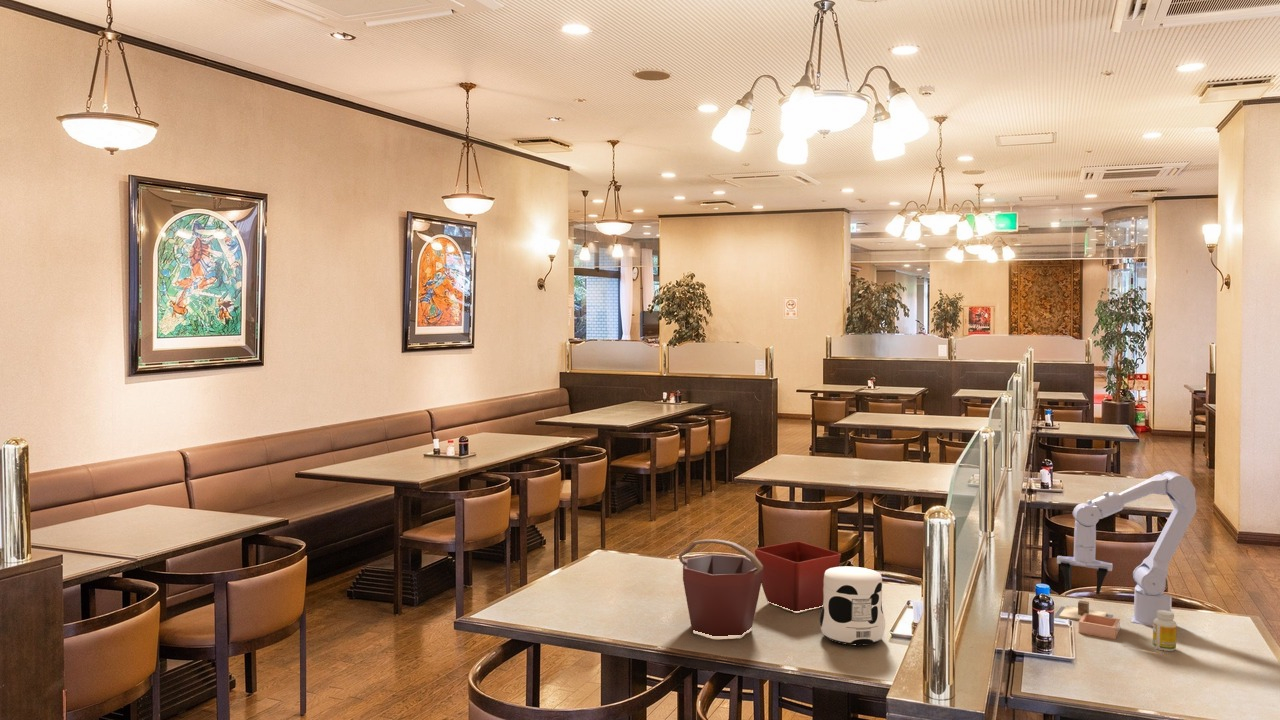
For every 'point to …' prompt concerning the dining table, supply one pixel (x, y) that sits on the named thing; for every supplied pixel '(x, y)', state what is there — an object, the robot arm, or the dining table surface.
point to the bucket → (721, 589)
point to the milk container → (852, 605)
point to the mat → (1070, 619)
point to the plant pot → (795, 573)
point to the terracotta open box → (1099, 626)
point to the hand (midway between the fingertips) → (1083, 591)
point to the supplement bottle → (1164, 631)
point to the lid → (1079, 611)
